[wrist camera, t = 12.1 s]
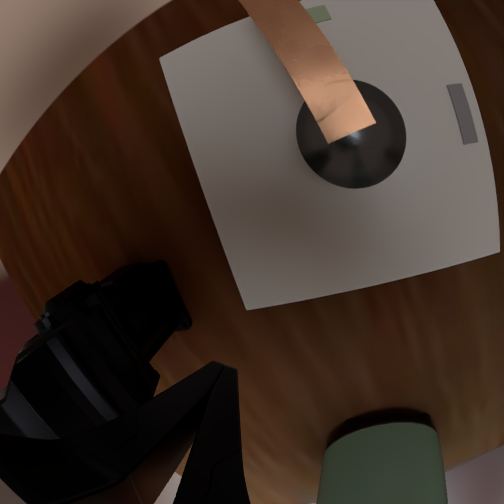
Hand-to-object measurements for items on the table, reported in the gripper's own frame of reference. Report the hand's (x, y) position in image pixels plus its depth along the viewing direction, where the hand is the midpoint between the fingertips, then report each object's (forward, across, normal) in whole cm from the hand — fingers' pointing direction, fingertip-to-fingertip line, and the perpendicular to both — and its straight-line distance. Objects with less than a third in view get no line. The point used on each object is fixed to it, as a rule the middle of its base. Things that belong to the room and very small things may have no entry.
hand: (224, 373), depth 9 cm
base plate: (+13, -2, -8) cm, 16 cm away
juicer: (+13, -16, +18) cm, 28 cm away
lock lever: (+12, 0, -11) cm, 16 cm away
